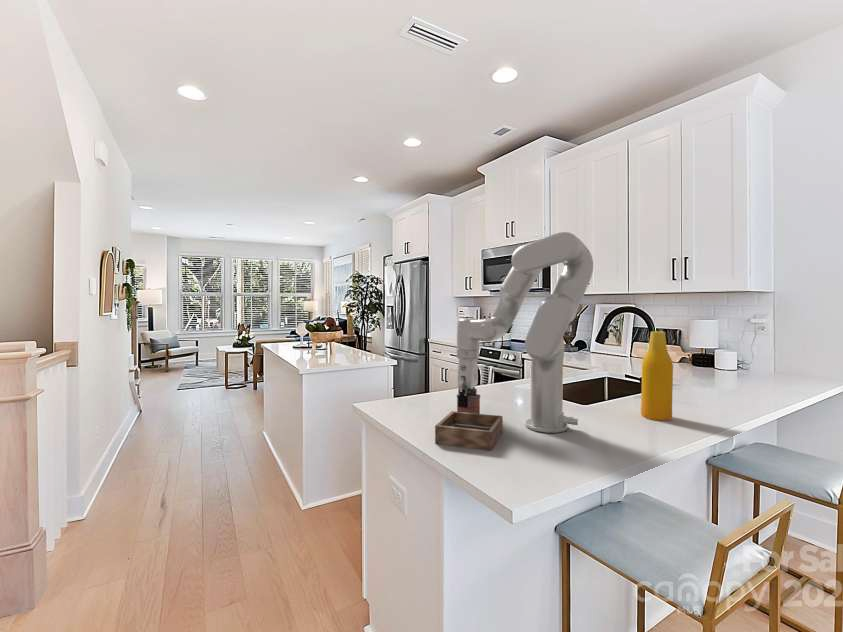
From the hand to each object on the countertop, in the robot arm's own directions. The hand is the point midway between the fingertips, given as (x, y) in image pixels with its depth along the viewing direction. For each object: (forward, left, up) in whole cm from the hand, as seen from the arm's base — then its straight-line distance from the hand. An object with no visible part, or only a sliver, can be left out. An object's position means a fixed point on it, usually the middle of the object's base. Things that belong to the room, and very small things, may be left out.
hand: (466, 403), depth 143 cm
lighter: (-1, 0, -5) cm, 5 cm away
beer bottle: (-61, -21, -5) cm, 64 cm away
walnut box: (-7, +21, -4) cm, 23 cm away
